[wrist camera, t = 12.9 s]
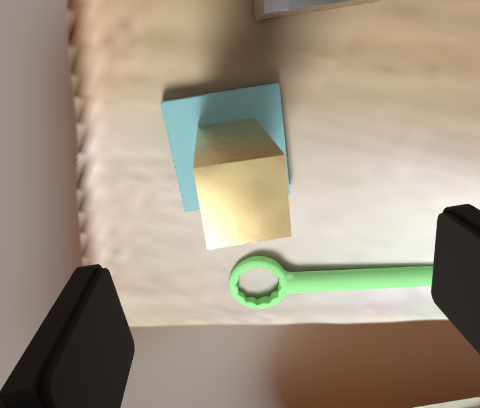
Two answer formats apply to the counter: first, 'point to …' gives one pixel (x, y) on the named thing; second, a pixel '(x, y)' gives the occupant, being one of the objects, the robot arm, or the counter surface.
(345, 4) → the socket block
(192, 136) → the teal board
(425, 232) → the counter surface
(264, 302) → the wrench
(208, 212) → the brass peg
